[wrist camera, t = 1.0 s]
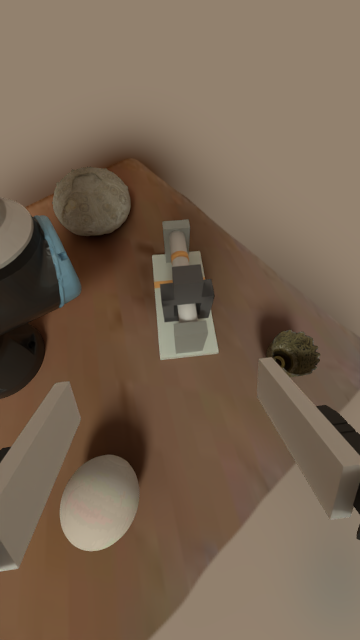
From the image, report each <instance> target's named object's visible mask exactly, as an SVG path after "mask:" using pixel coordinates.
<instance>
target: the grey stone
mask: <svg viewBox="0 0 360 640" xmlns="http://www.w3.org/2000/svg"><path fill="white" fill-rule="evenodd" d="M52 204H53V209H54V212H55V215H56V216H57V218H58V220H59V221H60V223H61V224H62V225H63V226H65V228H66V229H68V230H70V231H71V232H72V233H74V234H77V235H81V236H82V235H83V236H90V235H103V234H109V233H112V232H113V231H114V230H115V229H117V228H119V227H120V226H121V225H122V223H123V222H125V220H126V218H127V217H128V214H129V212H130V207H131V201H130V196H129V192H128V187H127V186H125V184H124V183H123V181H122V180H121V179H120V178H119V177H118V176H117V175H115V174H114V173H113V172H111V171H108V170H107V169H106V168H105V169H102V168H92V167H87V168H80V169H77V170H72V171H71V173H68V175H66V176H65V177H64V178H63V179H62V180H61V181H60V182H58V183H57V187H56V188H55V192H54V197H53V202H52Z"/></svg>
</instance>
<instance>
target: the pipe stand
mask: <svg viewBox="0 0 360 640" xmlns="http://www.w3.org/2000/svg"><path fill="white" fill-rule="evenodd" d="M162 223H163V235H164V246H165V254H162V255H152V261H153V274H154V287H155V299H156V312H157V324H158V337H159V350H160V359H161V360H164V359H173V358H182V357H191V356H200V355H209V354H218V352H219V351H218V346H217V340H216V335H215V330H214V324H213V319H212V314H211V310H210V314H209V318H203V319H198V318H197V311H196V305H195V303H194V304H184V305H177V307H178V315H179V321H173V322H164V315H163V309H162V303H161V292H160V284H166V283H173V279H172V267H175V266H186V265H197V264H201V270H202V275H203V280H205V276H204V270H203V265H202V260H201V254H200V251H195V252H189V238H190V224H189V219H188V220H176V221H163V222H162Z"/></svg>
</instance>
